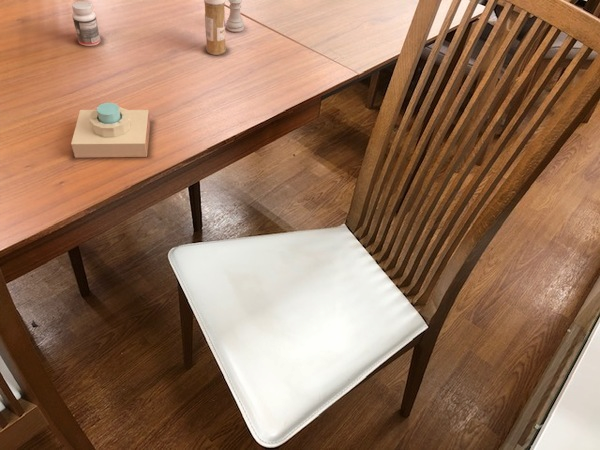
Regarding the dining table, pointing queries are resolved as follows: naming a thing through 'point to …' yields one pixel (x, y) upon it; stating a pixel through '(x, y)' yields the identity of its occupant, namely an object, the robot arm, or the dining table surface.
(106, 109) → the teal button cap
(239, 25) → the rook chess piece
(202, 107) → the dining table surface
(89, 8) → the pill bottle
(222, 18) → the sprinkles bottle
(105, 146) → the button base
